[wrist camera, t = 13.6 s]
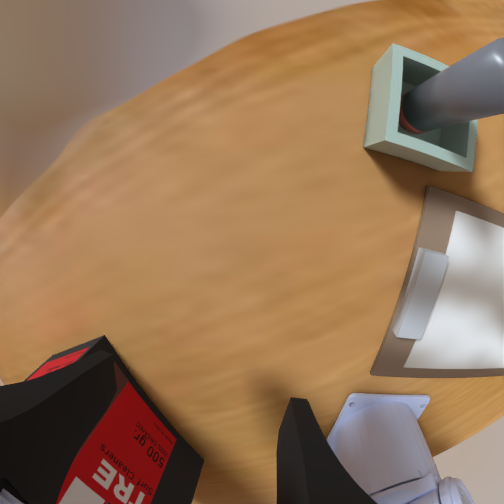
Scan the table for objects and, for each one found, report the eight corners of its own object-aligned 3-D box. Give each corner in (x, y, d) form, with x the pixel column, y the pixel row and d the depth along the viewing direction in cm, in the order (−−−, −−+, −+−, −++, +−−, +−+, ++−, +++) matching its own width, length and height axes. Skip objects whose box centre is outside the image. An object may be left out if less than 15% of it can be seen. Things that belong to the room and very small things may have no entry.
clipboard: (511, 372, 19) (517, 379, 17) (369, 372, 20) (373, 383, 18) (560, 241, 15) (569, 245, 14) (426, 185, 16) (436, 186, 15)
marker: (428, 139, 15) (542, 120, 5) (392, 127, 15) (496, 87, 5) (431, 102, 14) (536, 60, 4) (396, 89, 14) (489, 25, 5)
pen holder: (439, 171, 16) (473, 172, 12) (363, 147, 16) (384, 140, 12) (446, 94, 14) (477, 81, 10) (372, 67, 15) (393, 43, 11)
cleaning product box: (204, 460, 24) (155, 619, 5) (142, 463, 26) (84, 589, 7) (104, 335, 21) (-53, 505, 2) (52, 355, 23) (-69, 474, 4)
